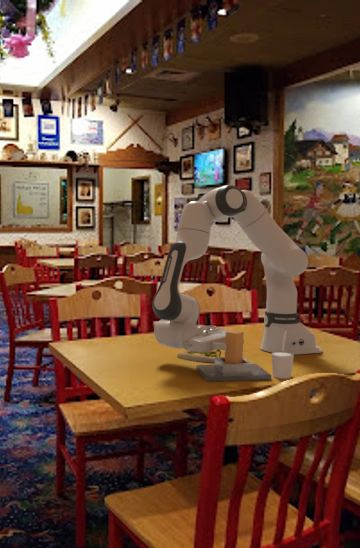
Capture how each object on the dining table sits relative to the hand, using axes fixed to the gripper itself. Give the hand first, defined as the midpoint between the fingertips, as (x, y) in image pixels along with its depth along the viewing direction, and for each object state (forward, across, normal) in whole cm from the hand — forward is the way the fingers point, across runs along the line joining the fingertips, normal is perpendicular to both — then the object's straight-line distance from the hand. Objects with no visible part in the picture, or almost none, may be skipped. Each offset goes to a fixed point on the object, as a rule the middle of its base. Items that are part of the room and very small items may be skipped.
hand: (234, 344), depth 199 cm
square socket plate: (0, 0, +10) cm, 10 cm away
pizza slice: (-21, +17, +10) cm, 29 cm away
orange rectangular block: (0, 0, +8) cm, 8 cm away
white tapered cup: (+12, +9, +10) cm, 18 cm away
